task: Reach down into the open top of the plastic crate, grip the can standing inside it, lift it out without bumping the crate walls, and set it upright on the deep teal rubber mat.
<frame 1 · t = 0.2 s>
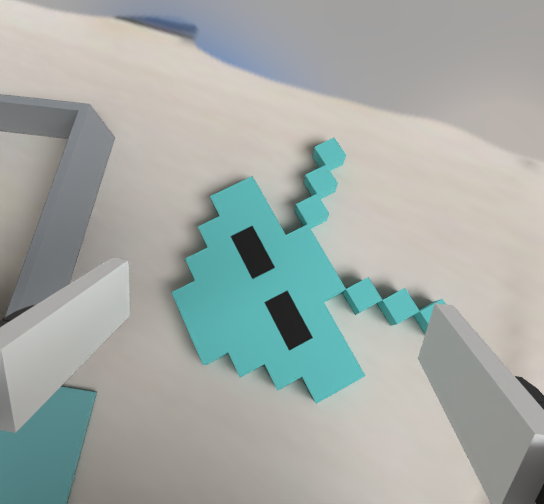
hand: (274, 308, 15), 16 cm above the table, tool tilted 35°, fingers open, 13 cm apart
alien figure: (291, 278, 32), on the table
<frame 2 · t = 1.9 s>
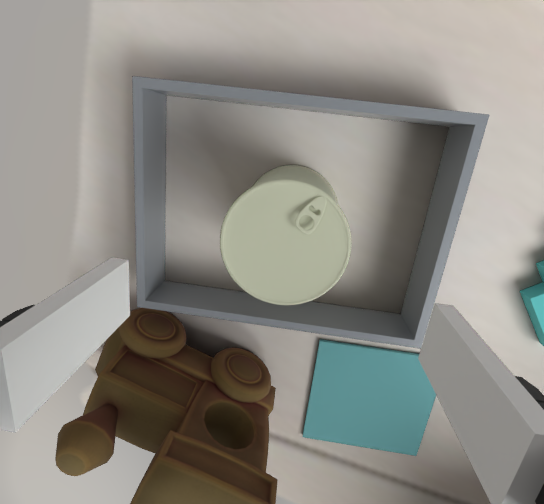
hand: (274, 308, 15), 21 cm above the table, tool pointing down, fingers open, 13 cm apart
can: (291, 211, 35), resting in crate
mat: (369, 398, 41), on the table
crate: (291, 212, 35), on the table
wooden toy train: (197, 363, 42), on the table
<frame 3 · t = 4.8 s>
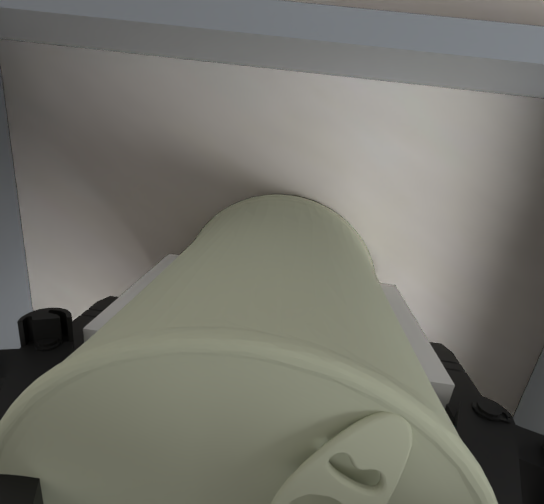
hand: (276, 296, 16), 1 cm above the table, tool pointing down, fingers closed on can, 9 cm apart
can: (278, 286, 17), resting in crate, touching gripper
crate: (278, 287, 17), on the table
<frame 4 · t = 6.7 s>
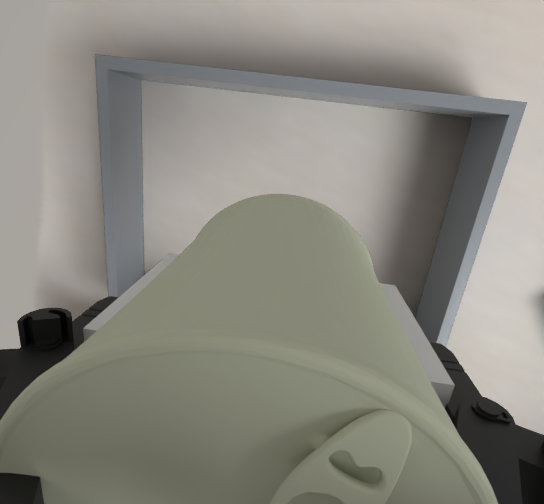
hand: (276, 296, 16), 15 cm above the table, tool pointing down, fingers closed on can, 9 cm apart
can: (278, 286, 17), point 14 cm above the table, touching gripper
crate: (287, 216, 30), on the table
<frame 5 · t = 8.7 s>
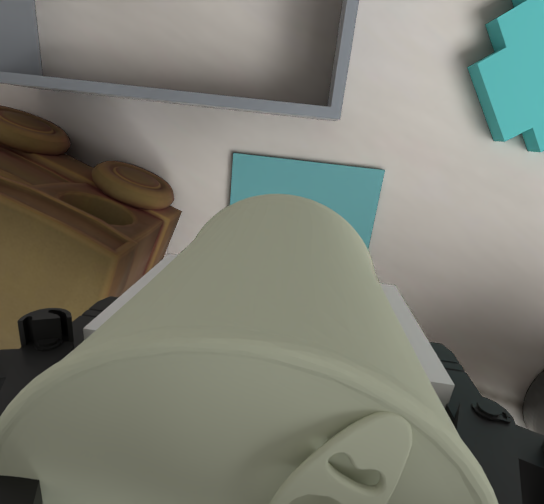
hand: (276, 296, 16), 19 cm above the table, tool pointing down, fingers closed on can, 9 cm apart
can: (278, 286, 17), point 18 cm above the table, touching gripper
mat: (298, 232, 34), on the table
wooden toy train: (95, 197, 35), on the table
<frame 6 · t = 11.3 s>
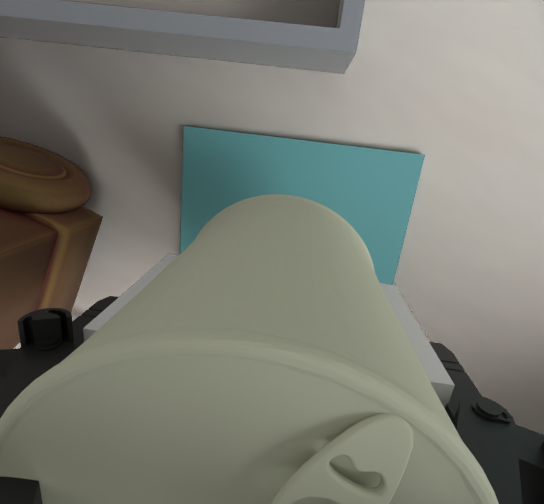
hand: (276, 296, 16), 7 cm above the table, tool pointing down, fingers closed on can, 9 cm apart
can: (278, 286, 17), point 6 cm above the table, touching gripper
mat: (286, 251, 23), on the table
when the fingers open (3 cm above the table, at t = 13.1 s): can drops 2 cm, resting on mat.
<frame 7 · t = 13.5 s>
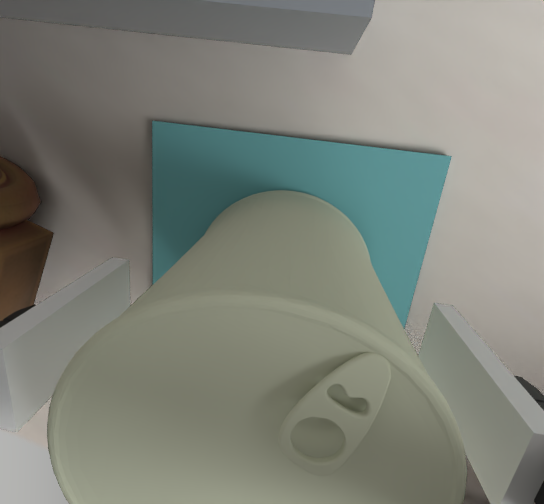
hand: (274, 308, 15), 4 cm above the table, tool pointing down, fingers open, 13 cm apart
can: (282, 275, 18), resting on mat
mat: (281, 273, 19), on the table
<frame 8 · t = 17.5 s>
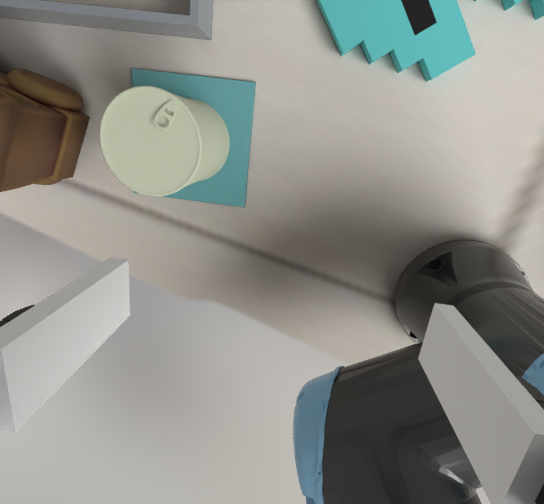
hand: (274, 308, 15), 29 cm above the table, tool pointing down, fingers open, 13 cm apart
can: (191, 141, 41), resting on mat
mat: (191, 141, 41), on the table
wooden toy train: (24, 112, 42), on the table
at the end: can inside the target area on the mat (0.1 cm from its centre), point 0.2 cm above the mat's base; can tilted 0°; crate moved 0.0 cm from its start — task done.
